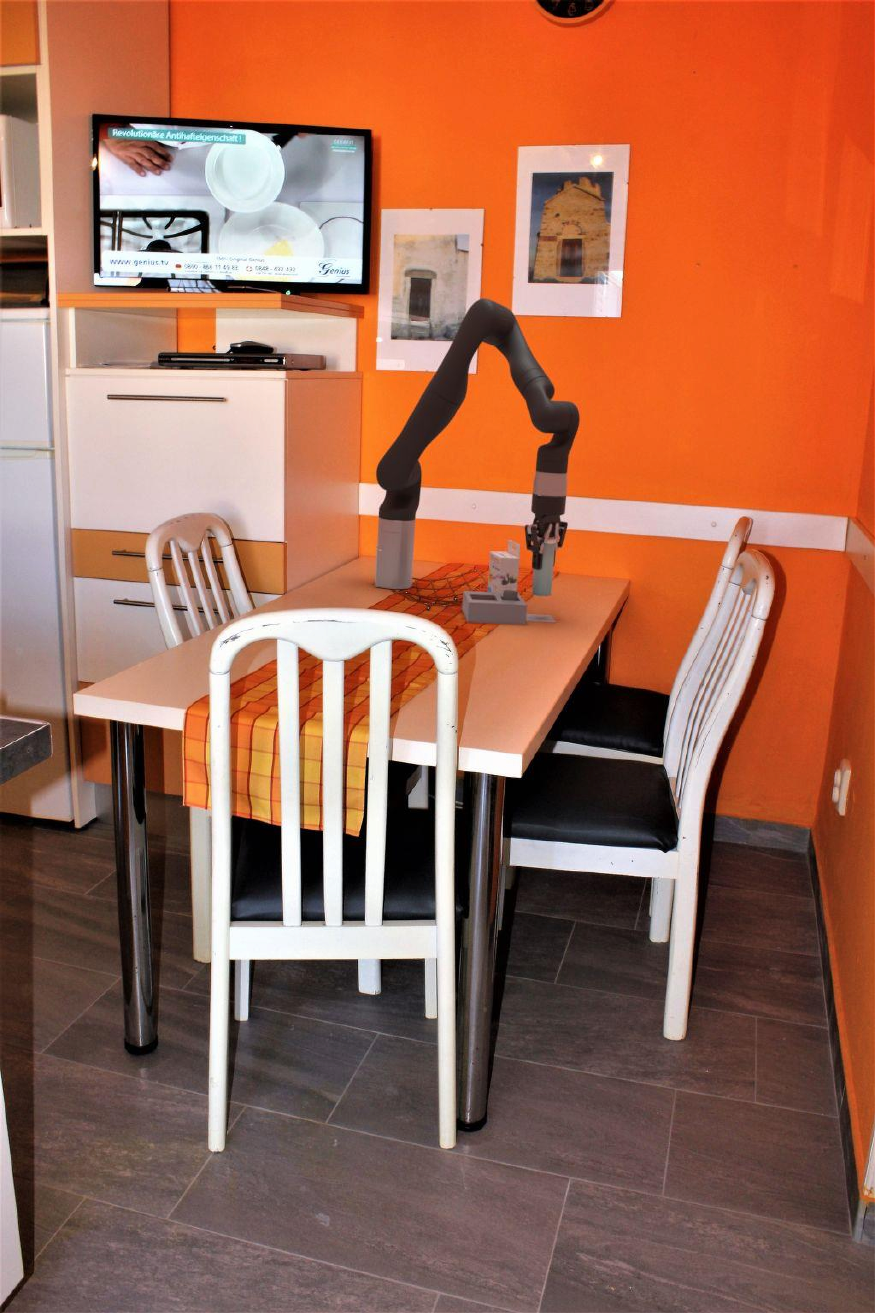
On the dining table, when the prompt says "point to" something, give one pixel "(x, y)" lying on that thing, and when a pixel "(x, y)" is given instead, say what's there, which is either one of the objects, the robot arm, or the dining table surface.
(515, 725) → the dining table surface
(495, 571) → the ink box
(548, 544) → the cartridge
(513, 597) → the plunger
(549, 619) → the mat
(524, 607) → the housing
